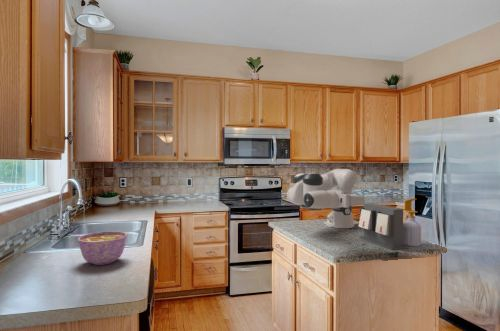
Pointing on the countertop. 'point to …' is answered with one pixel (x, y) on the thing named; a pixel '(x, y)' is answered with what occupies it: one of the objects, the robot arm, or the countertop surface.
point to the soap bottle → (411, 227)
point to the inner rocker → (365, 219)
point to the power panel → (395, 227)
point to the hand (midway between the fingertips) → (360, 197)
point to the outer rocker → (382, 224)
